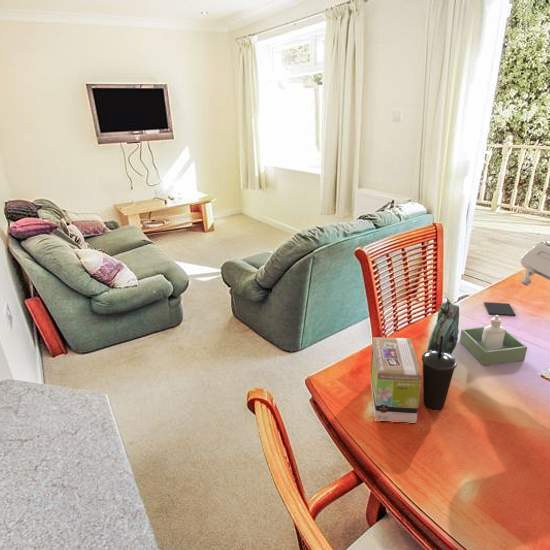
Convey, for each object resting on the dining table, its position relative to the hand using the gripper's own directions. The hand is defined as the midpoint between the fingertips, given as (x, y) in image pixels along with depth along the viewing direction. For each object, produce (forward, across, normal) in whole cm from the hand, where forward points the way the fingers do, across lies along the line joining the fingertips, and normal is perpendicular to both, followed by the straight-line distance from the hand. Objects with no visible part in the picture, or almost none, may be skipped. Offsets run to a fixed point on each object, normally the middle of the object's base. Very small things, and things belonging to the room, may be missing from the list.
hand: (539, 292), depth 103 cm
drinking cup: (+41, +8, -15) cm, 44 cm away
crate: (+20, -2, +7) cm, 21 cm away
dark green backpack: (+34, -2, -6) cm, 34 cm away
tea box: (+48, +2, -20) cm, 52 cm away
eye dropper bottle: (+20, -2, +7) cm, 22 cm away
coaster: (+6, -17, +24) cm, 30 cm away
